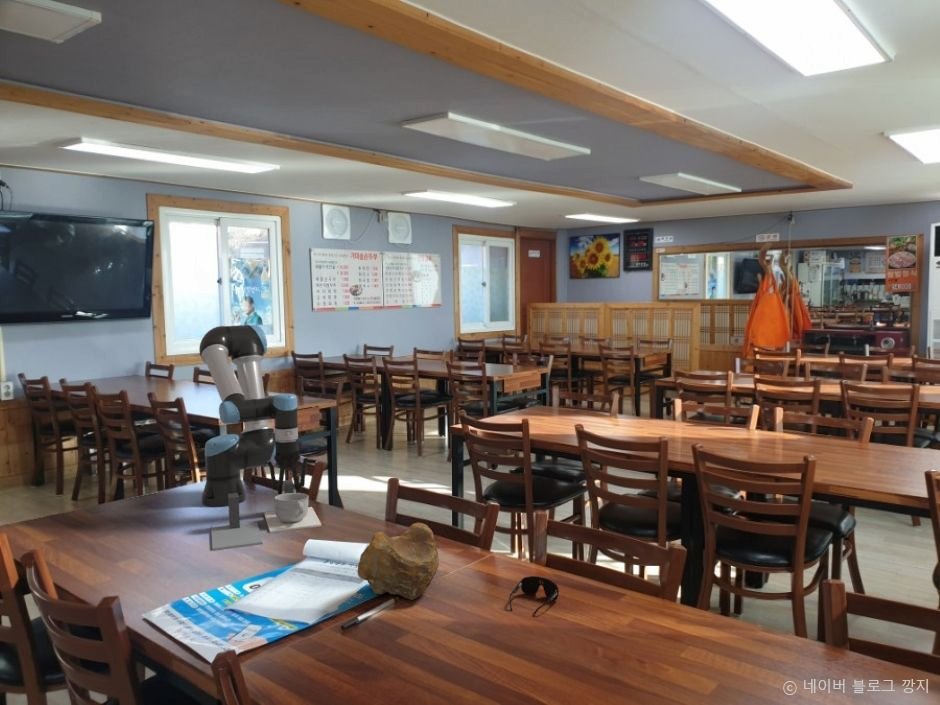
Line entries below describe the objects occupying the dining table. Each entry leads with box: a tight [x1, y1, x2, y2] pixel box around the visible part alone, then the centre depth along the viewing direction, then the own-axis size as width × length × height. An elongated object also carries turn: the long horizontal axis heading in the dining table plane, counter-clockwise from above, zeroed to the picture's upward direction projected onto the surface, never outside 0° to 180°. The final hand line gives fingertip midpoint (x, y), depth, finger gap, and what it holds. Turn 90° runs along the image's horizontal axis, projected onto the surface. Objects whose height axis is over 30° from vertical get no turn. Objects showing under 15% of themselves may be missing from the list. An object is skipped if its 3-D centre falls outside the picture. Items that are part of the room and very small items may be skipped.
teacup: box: [274, 492, 310, 522], centre depth 228 cm, size 14×11×8 cm
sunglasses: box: [508, 575, 560, 615], centre depth 167 cm, size 10×12×5 cm
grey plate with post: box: [263, 479, 322, 534], centre depth 231 cm, size 21×16×11 cm
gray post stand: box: [210, 493, 263, 551], centre depth 216 cm, size 21×14×11 cm, turn 21°
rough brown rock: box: [357, 522, 440, 601], centre depth 175 cm, size 23×17×15 cm
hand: (289, 508), depth 238 cm, fingers closed on grey plate with post, 3 cm apart
